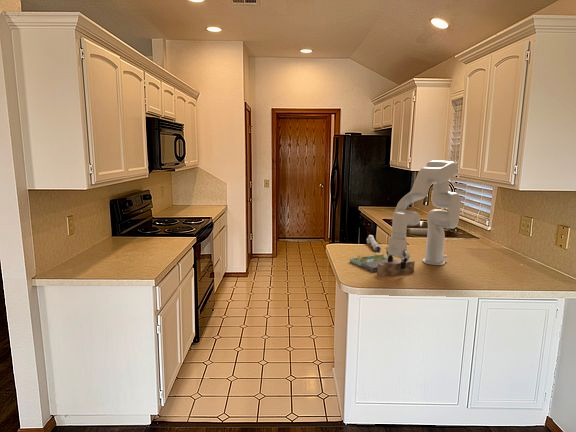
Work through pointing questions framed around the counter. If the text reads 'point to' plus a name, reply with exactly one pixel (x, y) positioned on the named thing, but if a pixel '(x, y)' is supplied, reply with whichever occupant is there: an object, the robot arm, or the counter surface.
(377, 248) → the white long cylinder
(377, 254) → the brass block
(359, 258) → the brass block
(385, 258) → the teal tray
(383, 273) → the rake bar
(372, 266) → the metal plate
